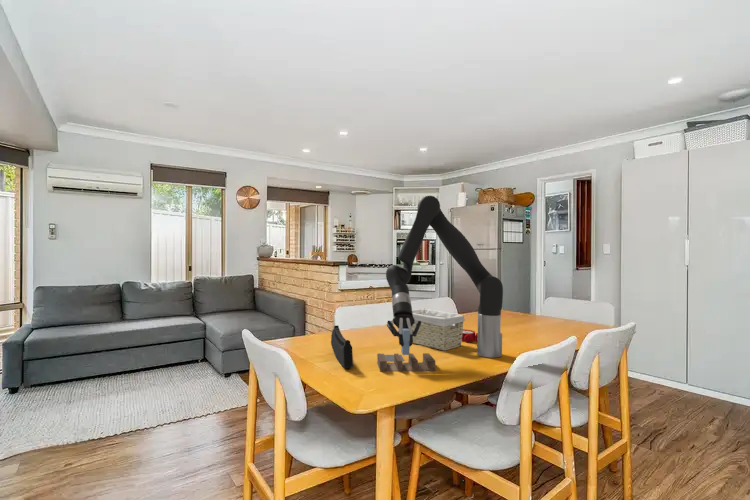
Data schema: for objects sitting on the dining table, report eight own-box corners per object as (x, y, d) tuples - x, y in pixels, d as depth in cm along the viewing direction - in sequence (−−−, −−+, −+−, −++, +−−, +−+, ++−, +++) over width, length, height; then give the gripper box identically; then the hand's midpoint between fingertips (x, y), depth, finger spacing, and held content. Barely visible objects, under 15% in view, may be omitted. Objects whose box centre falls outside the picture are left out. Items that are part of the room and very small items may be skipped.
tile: (407, 352, 147) (408, 328, 147) (409, 354, 144) (410, 330, 143) (401, 352, 147) (401, 328, 147) (402, 354, 143) (403, 330, 143)
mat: (401, 355, 162) (401, 354, 162) (404, 361, 153) (404, 360, 153) (376, 355, 161) (376, 354, 161) (379, 361, 152) (379, 361, 152)
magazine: (354, 347, 138) (340, 310, 166) (345, 348, 138) (332, 310, 165) (351, 389, 143) (337, 345, 171) (342, 389, 143) (330, 346, 170)
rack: (428, 363, 151) (429, 353, 151) (435, 371, 141) (435, 360, 141) (377, 363, 149) (377, 353, 149) (380, 372, 140) (380, 361, 140)
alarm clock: (464, 328, 201) (485, 327, 188) (466, 341, 200) (487, 341, 187) (448, 330, 196) (469, 329, 183) (450, 343, 195) (471, 343, 182)
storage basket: (465, 346, 179) (466, 314, 179) (444, 352, 168) (445, 318, 168) (424, 337, 196) (424, 307, 196) (402, 342, 185) (403, 311, 185)
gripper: (385, 300, 152) (388, 339, 140) (420, 301, 153) (427, 339, 141) (383, 312, 157) (386, 350, 145) (417, 312, 159) (423, 350, 147)
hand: (406, 345), depth 143 cm, fingers closed on tile, 2 cm apart
